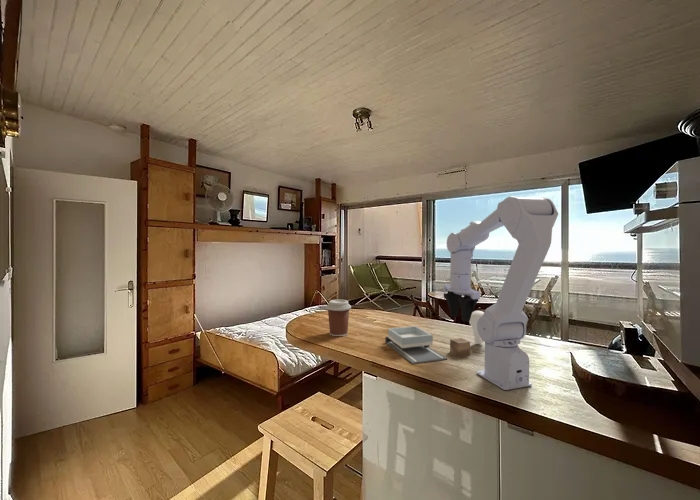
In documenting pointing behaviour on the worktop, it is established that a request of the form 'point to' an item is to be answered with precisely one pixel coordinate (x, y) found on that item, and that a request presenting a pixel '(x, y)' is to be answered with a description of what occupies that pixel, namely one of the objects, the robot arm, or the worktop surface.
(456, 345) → the block
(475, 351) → the worktop surface
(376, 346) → the worktop surface
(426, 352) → the track
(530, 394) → the worktop surface
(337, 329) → the coffee cup
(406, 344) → the white shallow tray
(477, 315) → the lightbulb
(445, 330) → the worktop surface
